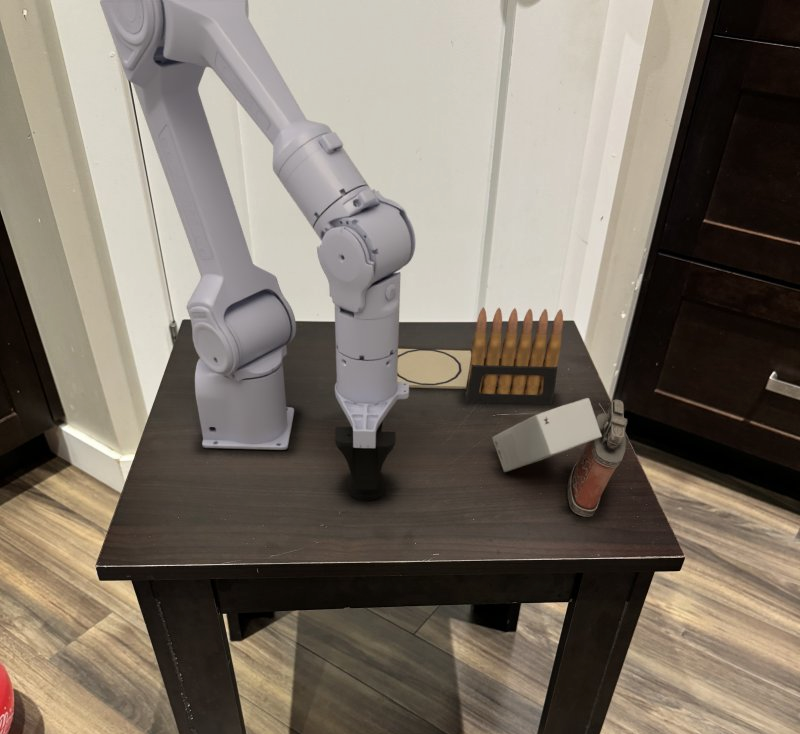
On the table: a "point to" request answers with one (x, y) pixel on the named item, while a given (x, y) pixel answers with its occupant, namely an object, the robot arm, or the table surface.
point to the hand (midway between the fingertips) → (366, 463)
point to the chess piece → (367, 494)
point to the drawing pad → (433, 368)
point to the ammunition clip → (514, 361)
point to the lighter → (598, 461)
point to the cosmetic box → (547, 434)
